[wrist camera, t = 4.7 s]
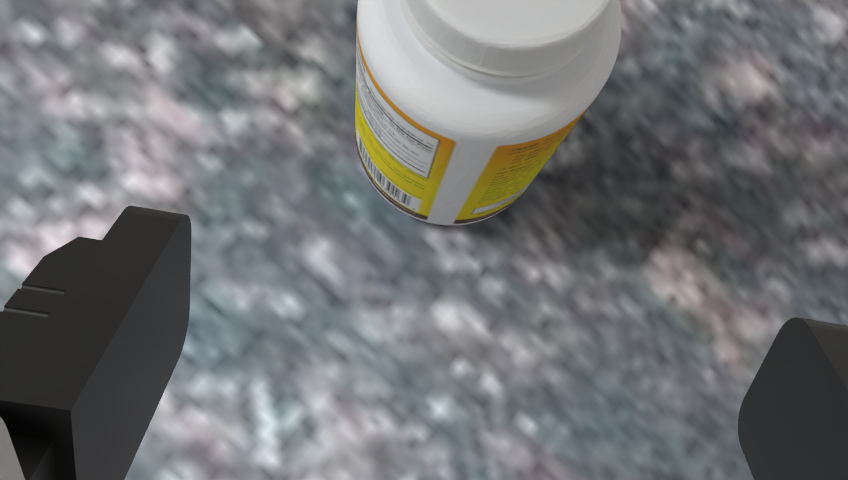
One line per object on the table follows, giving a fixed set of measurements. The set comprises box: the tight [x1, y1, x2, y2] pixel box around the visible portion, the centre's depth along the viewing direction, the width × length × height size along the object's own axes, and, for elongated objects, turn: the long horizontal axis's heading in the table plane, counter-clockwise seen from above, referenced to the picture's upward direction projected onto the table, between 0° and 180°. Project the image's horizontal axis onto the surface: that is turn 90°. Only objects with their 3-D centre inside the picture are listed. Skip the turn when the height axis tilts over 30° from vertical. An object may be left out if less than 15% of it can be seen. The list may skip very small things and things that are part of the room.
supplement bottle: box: [355, 0, 622, 225], centre depth 19 cm, size 6×6×10 cm
